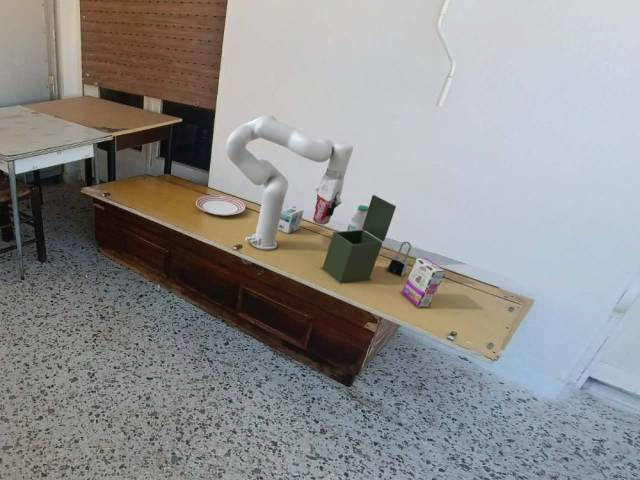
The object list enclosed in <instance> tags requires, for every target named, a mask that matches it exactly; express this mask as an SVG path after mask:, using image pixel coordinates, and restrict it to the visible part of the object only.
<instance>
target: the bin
mask: <svg viewBox="0 0 640 480" xmlns="http://www.w3.org/2000/svg"><path fill="white" fill-rule="evenodd" d="M383 245H384V241H383V242H382V241H381V240H379V239H378V238H376V237H374V236H373V235H371V234H370V233H368V232H366V231H364V230H354V231H347V230H343V231H333V233H332V235H331V239H330V242H329V246H328V249H327V253H326V255H325V259H324V262H323V265H322V270H324V271H325V272H326V273H327V274H329V275H330V276H331V277H332V278H334V279H335V280H336V281H337V282H338V283H340V284H341V283H349V282H358V281H367V280H368V281H369V280H370V278H371V275H372V273H373V270H374V267H375V264H376V263H377V260H378V257H379V254H380V252H381V249H382V246H383Z"/></svg>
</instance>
